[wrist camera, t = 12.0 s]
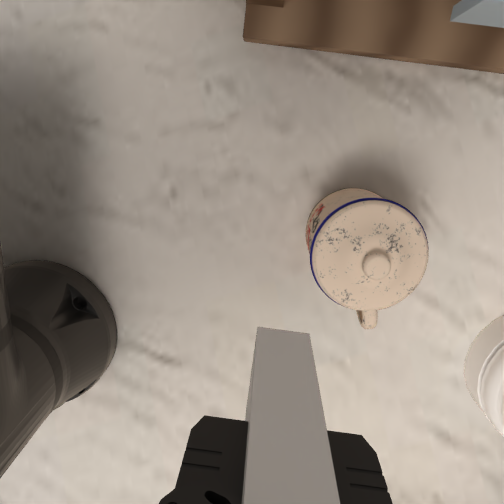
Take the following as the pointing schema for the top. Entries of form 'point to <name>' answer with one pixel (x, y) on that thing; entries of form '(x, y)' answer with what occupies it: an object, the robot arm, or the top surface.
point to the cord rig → (377, 31)
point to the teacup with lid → (365, 251)
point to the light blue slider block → (479, 12)
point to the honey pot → (488, 372)
